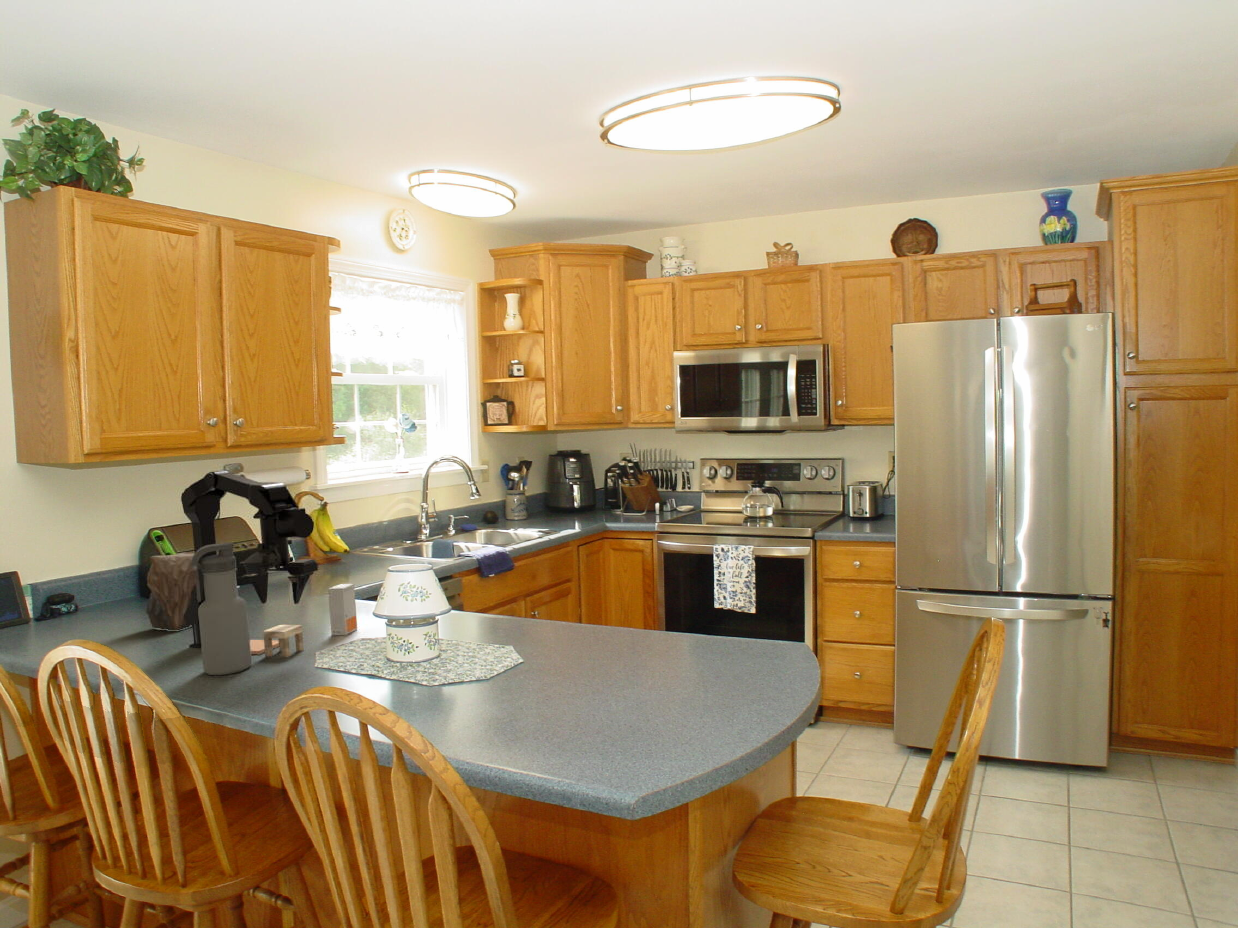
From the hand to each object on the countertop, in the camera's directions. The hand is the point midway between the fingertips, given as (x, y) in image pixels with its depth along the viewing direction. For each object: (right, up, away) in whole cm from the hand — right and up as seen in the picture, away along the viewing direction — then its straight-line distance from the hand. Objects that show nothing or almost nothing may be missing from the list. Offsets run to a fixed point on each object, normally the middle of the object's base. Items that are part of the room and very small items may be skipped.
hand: (280, 603), depth 203 cm
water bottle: (-8, -13, -10) cm, 19 cm away
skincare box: (+10, -10, +18) cm, 23 cm away
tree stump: (-42, -13, +36) cm, 57 cm away
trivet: (-9, -12, +7) cm, 16 cm away
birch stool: (+1, -12, +1) cm, 12 cm away
